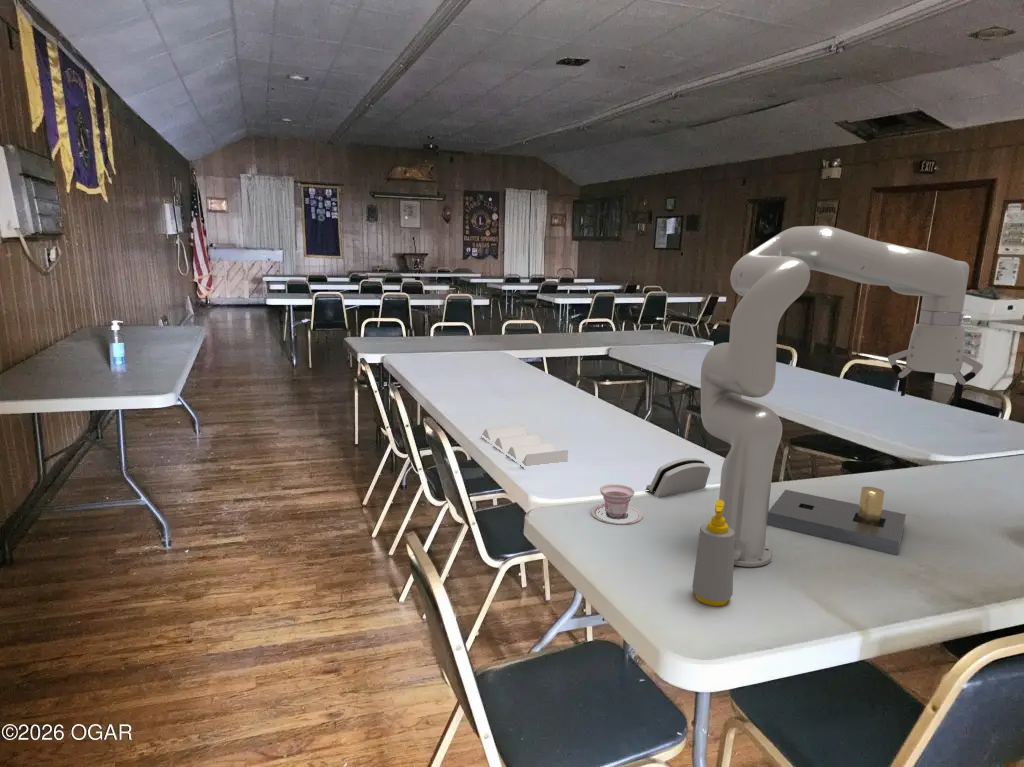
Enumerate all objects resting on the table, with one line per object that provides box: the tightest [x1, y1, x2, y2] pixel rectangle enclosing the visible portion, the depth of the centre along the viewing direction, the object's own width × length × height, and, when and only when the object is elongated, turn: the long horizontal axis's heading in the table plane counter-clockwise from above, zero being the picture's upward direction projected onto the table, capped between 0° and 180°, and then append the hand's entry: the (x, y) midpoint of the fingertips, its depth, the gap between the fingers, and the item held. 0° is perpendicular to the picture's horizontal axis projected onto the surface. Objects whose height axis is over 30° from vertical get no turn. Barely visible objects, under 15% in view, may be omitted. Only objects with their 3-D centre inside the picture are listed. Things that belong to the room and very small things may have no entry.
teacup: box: [590, 483, 644, 525], centre depth 154 cm, size 12×12×6 cm
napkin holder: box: [645, 457, 711, 498], centre depth 170 cm, size 17×5×10 cm, turn 119°
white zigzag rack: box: [481, 425, 569, 466], centre depth 202 cm, size 13×35×5 cm, turn 24°
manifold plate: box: [767, 489, 907, 556], centre depth 151 cm, size 18×26×3 cm
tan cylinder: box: [857, 486, 885, 527], centre depth 146 cm, size 4×4×10 cm
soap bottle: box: [691, 499, 735, 607], centre depth 116 cm, size 7×7×18 cm
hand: (928, 398), depth 144 cm, fingers open, 9 cm apart
